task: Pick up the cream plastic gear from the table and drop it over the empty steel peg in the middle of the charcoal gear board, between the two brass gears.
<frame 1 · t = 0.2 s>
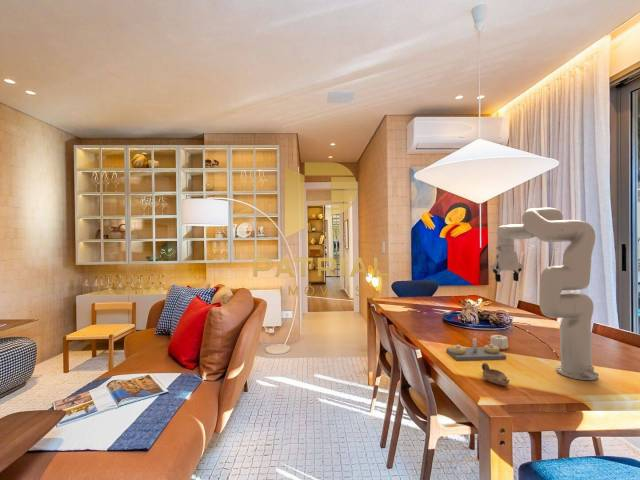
hand: (507, 281, 170), 31 cm above the table, fingers open, 9 cm apart
loose gear: (499, 346, 158), on the table
brown duck figurine: (494, 381, 122), on the table
gear board: (475, 355, 148), on the table
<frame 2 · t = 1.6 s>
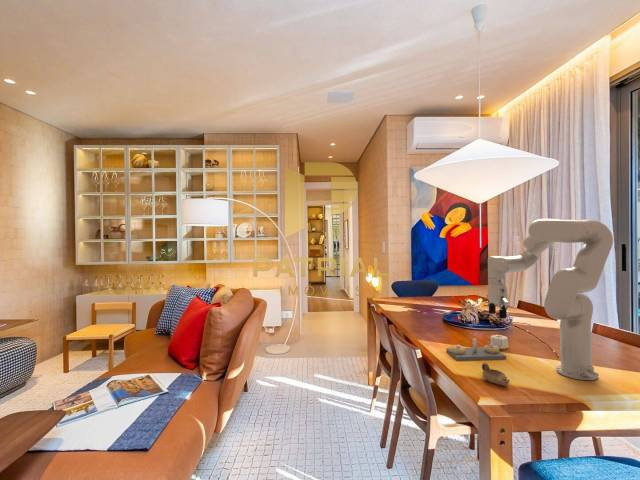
hand: (497, 315, 159), 15 cm above the table, fingers open, 9 cm apart
nothing on the table moved.
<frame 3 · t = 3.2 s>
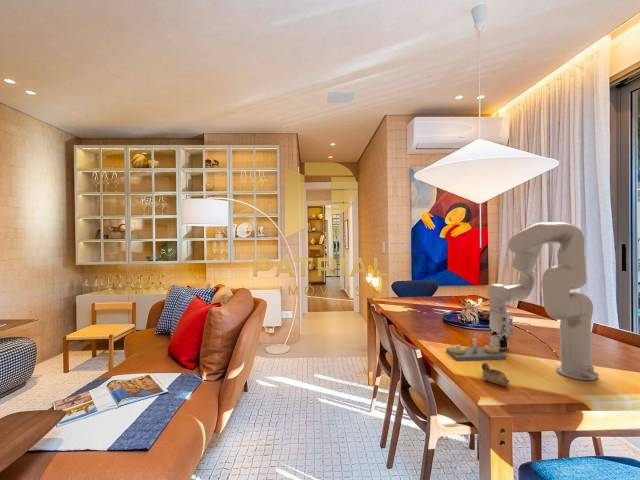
hand: (499, 344, 158), 1 cm above the table, fingers closed on loose gear, 7 cm apart
loose gear: (499, 346, 158), on the table, touching gripper
everything else where it was.
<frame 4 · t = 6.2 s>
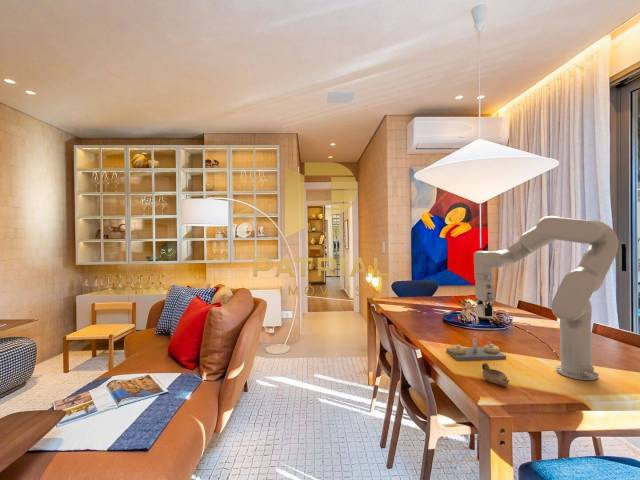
hand: (484, 313, 153), 18 cm above the table, fingers closed on loose gear, 7 cm apart
loose gear: (484, 316, 153), point 17 cm above the table, touching gripper
everything else where it was.
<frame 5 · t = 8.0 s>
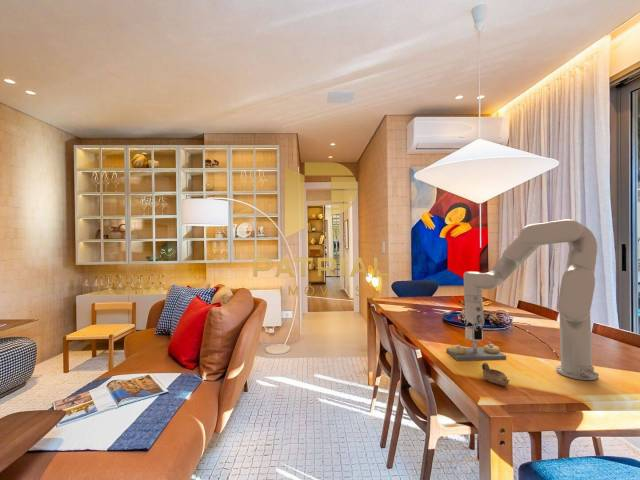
hand: (474, 336, 149), 9 cm above the table, fingers closed on loose gear, 7 cm apart
loose gear: (474, 338, 149), point 8 cm above the table, touching gripper
everything else where it was.
when the fingers open (5 cm above the table, at t = 9.3 s): loose gear drops 2 cm, resting on gear board.
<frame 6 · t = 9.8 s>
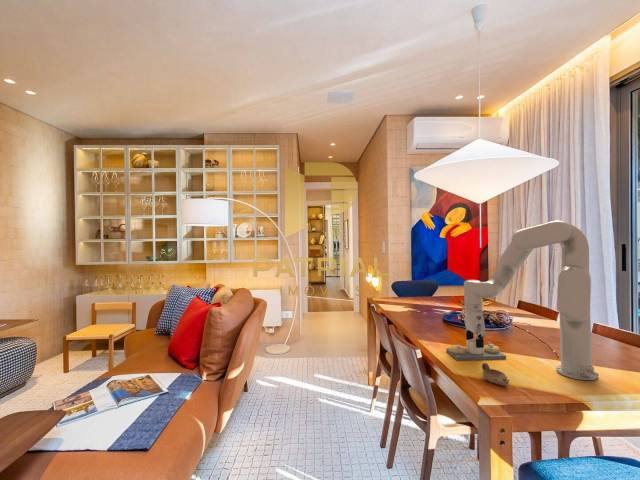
hand: (474, 344, 148), 5 cm above the table, fingers open, 9 cm apart
loose gear: (475, 352, 148), point 1 cm above the table, touching gear board
everything else where it was.
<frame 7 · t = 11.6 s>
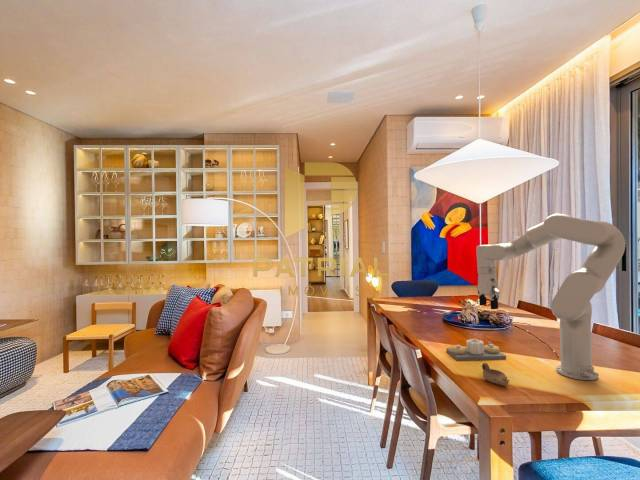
hand: (488, 306, 152), 21 cm above the table, fingers open, 9 cm apart
nothing on the table moved.
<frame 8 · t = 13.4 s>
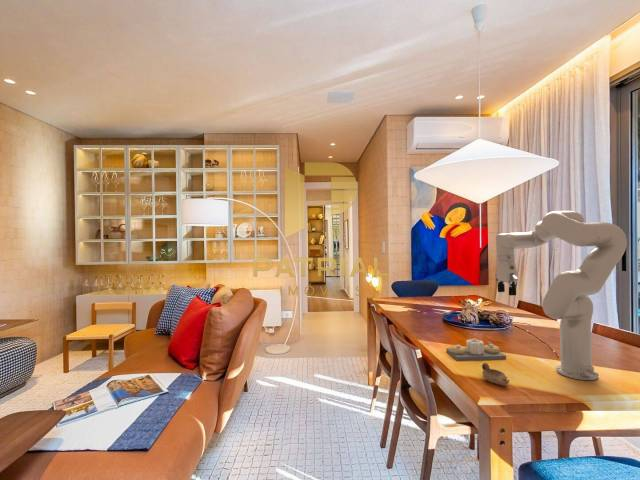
hand: (506, 293, 157), 26 cm above the table, fingers open, 9 cm apart
nothing on the table moved.
at the end: loose gear 0.3 cm off-centre on the gear board, point 1.5 cm above the gear board's base; loose gear tilted 0°; the gripper is holding nothing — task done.
